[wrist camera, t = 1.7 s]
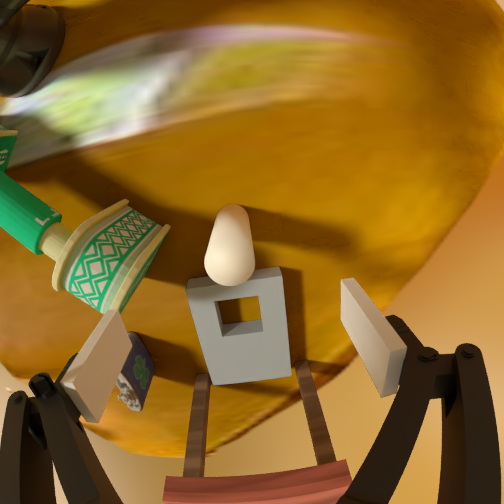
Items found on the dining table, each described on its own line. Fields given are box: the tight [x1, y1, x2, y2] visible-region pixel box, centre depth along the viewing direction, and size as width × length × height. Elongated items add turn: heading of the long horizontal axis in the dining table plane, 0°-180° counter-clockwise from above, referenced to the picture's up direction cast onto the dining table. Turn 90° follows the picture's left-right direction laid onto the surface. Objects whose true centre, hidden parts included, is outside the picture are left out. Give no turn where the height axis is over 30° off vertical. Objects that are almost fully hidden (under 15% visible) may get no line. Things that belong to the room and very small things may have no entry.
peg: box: [204, 204, 255, 286], centre depth 30 cm, size 4×4×14 cm
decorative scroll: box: [0, 124, 171, 315], centre depth 27 cm, size 36×8×15 cm, turn 57°
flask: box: [115, 332, 155, 412], centre depth 38 cm, size 9×3×11 cm, turn 10°
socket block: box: [186, 266, 291, 385], centre depth 41 cm, size 17×12×3 cm
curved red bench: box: [163, 360, 352, 504], centre depth 33 cm, size 7×18×25 cm, turn 98°
